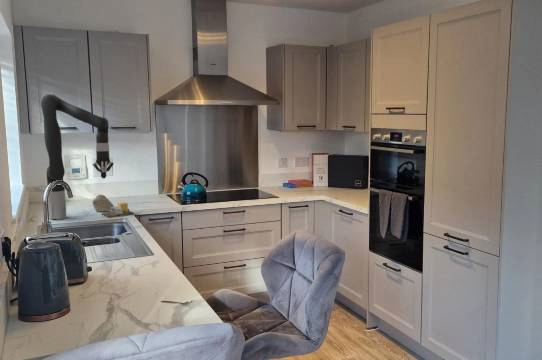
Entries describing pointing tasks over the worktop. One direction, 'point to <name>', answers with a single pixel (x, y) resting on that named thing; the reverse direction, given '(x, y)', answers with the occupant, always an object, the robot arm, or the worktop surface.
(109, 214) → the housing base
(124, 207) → the jaw block
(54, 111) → the robot arm
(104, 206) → the fossil tooth
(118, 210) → the keeper
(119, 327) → the worktop surface
